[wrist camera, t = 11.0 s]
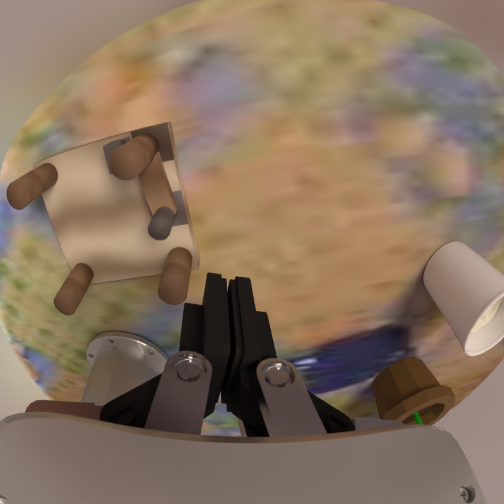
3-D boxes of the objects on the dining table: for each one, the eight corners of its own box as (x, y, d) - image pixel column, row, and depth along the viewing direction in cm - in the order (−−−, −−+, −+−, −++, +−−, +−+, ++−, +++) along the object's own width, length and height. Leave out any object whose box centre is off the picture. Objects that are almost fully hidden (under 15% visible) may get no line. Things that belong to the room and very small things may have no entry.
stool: (200, 257, 31) (195, 305, 25) (84, 275, 31) (59, 318, 25) (171, 120, 24) (151, 131, 18) (42, 158, 24) (-1, 182, 18)
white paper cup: (435, 230, 32) (496, 287, 22) (481, 240, 33) (534, 289, 23) (406, 295, 37) (449, 360, 26) (453, 297, 38) (495, 351, 28)
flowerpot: (346, 399, 48) (389, 547, 23) (392, 346, 42) (466, 517, 16) (401, 397, 52) (448, 519, 26) (445, 350, 45) (514, 482, 19)
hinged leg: (182, 216, 27) (173, 247, 22) (158, 223, 27) (144, 254, 22) (154, 129, 22) (136, 141, 18) (128, 138, 23) (104, 152, 18)
